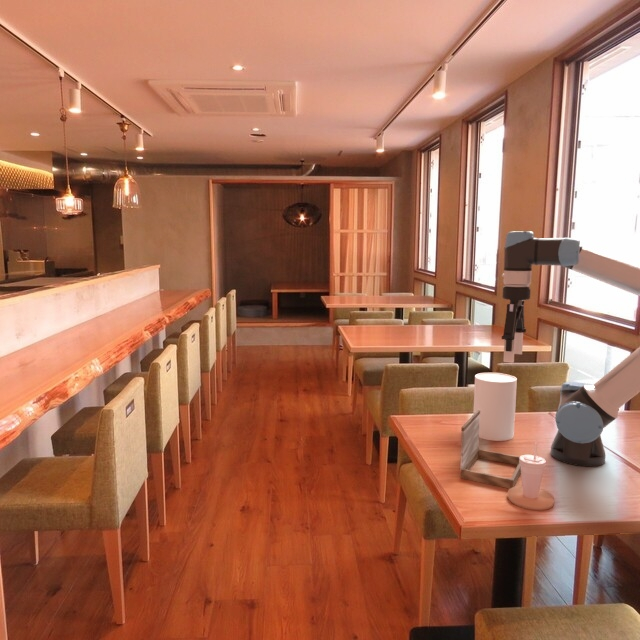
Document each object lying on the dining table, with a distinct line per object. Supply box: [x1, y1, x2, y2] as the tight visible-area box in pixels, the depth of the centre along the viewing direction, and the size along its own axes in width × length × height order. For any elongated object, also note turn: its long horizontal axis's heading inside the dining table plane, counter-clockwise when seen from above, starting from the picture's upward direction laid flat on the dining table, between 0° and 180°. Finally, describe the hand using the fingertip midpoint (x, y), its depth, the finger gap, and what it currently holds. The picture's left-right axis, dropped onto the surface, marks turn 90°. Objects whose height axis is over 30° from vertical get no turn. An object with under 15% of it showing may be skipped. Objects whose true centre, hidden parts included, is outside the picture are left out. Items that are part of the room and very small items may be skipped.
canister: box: [472, 372, 518, 442], centre depth 184 cm, size 14×14×20 cm
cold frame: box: [459, 410, 521, 490], centre depth 154 cm, size 16×18×15 cm
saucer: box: [507, 485, 555, 511], centre depth 137 cm, size 11×11×1 cm
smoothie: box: [519, 442, 547, 499], centre depth 136 cm, size 6×6×14 cm
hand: (513, 358), depth 157 cm, fingers open, 13 cm apart
